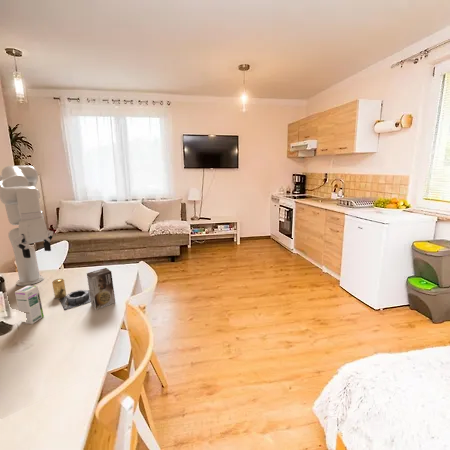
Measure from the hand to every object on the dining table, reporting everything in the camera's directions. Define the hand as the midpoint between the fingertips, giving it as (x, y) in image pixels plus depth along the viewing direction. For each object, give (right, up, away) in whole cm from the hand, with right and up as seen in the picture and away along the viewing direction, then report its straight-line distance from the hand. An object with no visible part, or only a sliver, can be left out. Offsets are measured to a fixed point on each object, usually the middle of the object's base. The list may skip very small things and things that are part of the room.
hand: (38, 254), depth 120 cm
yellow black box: (0, -23, +16) cm, 28 cm away
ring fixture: (+11, -23, +12) cm, 29 cm away
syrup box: (+1, -28, -5) cm, 28 cm away
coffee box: (+26, -24, +7) cm, 36 cm away
